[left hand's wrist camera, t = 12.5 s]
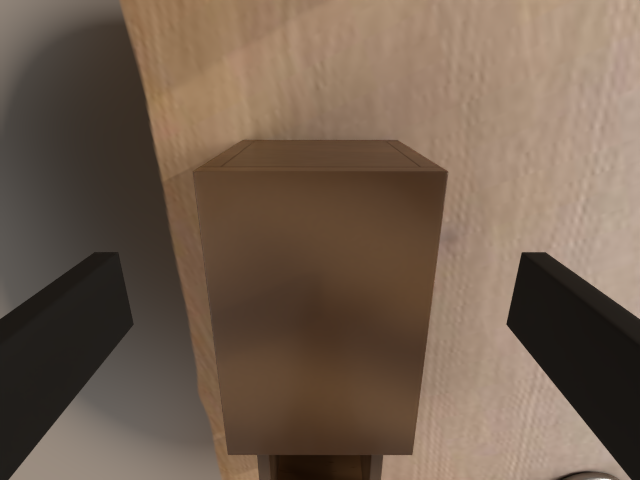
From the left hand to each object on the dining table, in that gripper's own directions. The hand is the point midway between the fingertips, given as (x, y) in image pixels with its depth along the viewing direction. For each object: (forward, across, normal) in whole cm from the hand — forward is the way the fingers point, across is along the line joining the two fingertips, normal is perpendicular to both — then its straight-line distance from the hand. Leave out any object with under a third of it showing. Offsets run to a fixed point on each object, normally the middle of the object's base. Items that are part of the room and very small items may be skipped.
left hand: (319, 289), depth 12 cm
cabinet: (+17, 0, -6) cm, 18 cm away
